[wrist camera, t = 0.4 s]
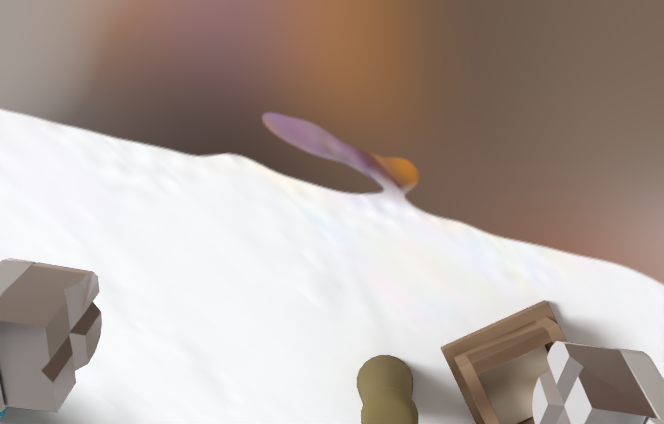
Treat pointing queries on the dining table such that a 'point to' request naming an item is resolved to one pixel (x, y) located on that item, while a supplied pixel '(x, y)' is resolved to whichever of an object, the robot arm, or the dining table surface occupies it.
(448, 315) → the dining table surface
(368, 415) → the cork
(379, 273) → the dining table surface
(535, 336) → the walnut rack
